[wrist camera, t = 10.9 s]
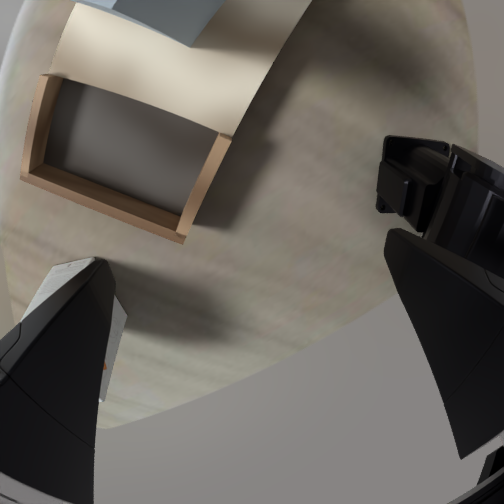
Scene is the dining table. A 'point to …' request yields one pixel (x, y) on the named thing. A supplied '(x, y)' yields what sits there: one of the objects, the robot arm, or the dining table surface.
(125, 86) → the box
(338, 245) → the dining table surface
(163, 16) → the block
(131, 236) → the dining table surface
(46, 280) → the small box
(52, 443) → the robot arm
